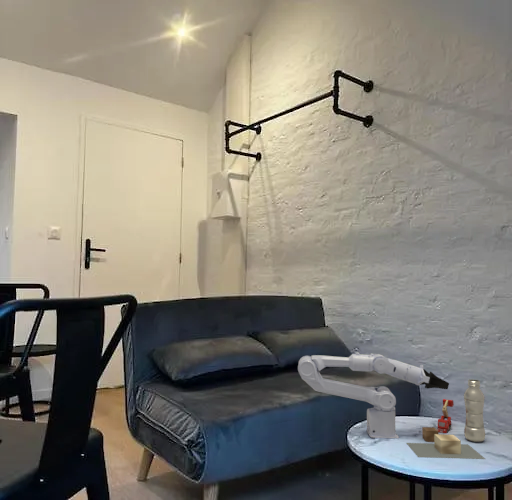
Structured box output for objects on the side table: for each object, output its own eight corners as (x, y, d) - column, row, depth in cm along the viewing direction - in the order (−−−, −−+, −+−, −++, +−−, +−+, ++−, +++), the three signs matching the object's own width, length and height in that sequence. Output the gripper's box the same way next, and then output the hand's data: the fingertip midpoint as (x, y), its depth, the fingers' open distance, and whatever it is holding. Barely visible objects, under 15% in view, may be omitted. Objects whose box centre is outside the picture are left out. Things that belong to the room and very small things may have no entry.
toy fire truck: (436, 433, 170) (436, 405, 170) (444, 423, 181) (444, 397, 182) (446, 434, 168) (446, 406, 169) (454, 425, 179) (453, 398, 180)
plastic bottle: (488, 441, 162) (487, 380, 163) (481, 445, 157) (480, 383, 158) (468, 436, 166) (468, 377, 167) (460, 441, 161) (460, 380, 163)
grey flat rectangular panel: (418, 458, 145) (418, 457, 145) (406, 443, 158) (406, 442, 158) (485, 460, 144) (485, 459, 144) (468, 445, 157) (468, 444, 157)
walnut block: (426, 443, 159) (426, 430, 159) (422, 439, 163) (422, 427, 163) (438, 443, 159) (438, 431, 159) (434, 439, 163) (434, 427, 163)
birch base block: (441, 453, 148) (440, 440, 148) (434, 447, 154) (434, 434, 154) (460, 454, 148) (460, 440, 148) (453, 447, 154) (453, 434, 154)
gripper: (413, 362, 160) (454, 375, 159) (403, 359, 175) (441, 371, 173) (407, 383, 160) (448, 396, 158) (398, 378, 174) (436, 390, 172)
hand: (444, 384), depth 165 cm, fingers open, 7 cm apart
